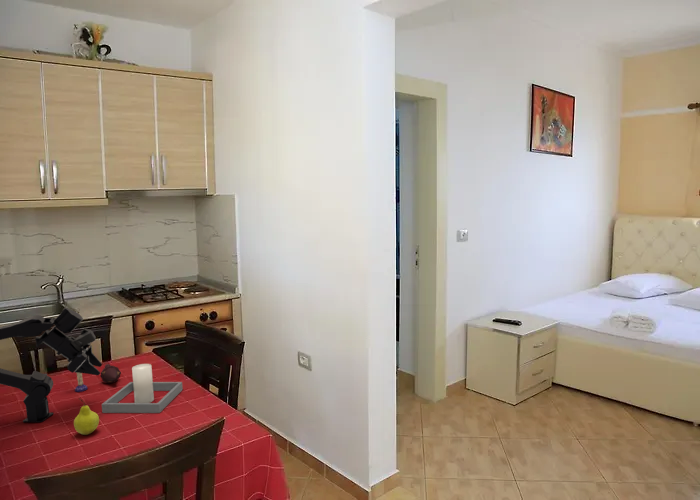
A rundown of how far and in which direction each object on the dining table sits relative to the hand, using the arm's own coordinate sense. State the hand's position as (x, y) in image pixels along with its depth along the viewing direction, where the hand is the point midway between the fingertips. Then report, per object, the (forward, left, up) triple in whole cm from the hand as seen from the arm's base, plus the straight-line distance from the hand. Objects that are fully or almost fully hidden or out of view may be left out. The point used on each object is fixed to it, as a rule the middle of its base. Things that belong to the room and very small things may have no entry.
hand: (100, 369), depth 179 cm
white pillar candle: (+6, -12, -14) cm, 19 cm away
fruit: (-19, -5, -14) cm, 24 cm away
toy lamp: (+15, +18, -14) cm, 27 cm away
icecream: (+23, +10, -14) cm, 29 cm away
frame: (+6, -12, -14) cm, 19 cm away
